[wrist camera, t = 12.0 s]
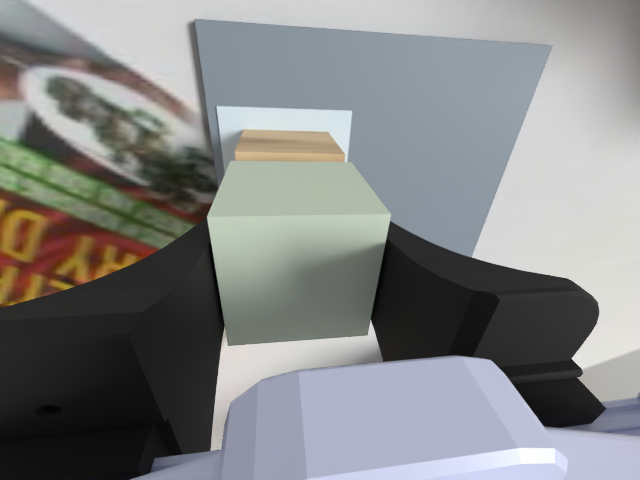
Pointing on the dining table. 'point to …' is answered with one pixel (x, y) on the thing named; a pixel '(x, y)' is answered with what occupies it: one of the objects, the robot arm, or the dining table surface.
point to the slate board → (380, 111)
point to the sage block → (296, 250)
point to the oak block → (288, 146)
